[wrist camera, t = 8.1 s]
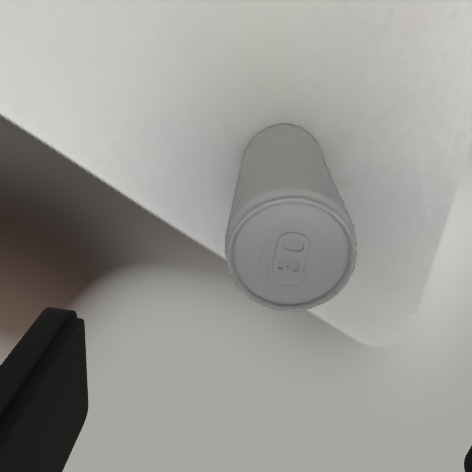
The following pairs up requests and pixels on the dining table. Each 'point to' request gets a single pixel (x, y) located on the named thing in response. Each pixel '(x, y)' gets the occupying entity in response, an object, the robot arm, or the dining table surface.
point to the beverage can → (288, 224)
